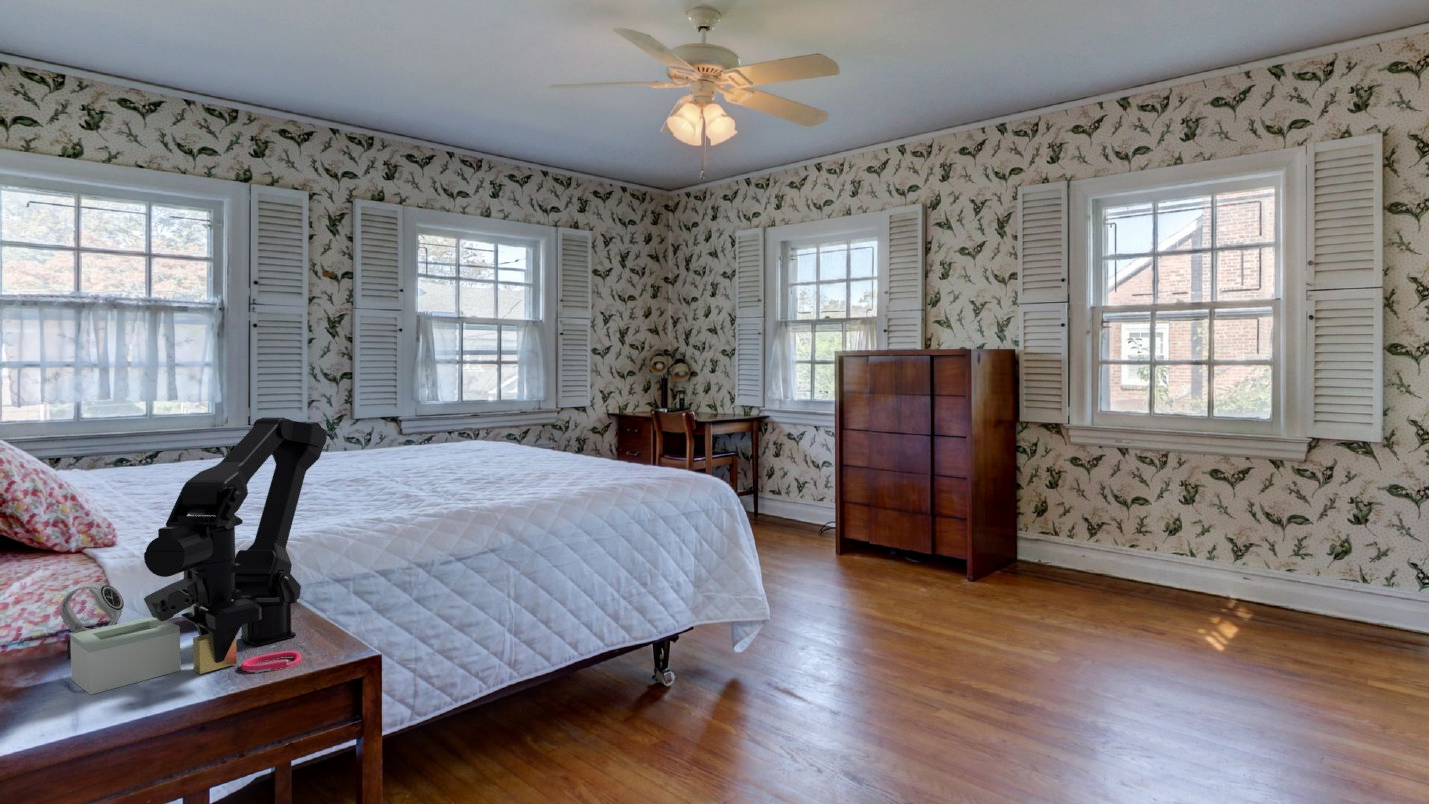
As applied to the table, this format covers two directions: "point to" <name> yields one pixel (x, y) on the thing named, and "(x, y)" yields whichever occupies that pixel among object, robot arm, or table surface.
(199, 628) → the robot arm
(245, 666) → the fitness band
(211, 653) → the block
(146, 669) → the coin box
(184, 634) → the table surface
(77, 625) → the watch
